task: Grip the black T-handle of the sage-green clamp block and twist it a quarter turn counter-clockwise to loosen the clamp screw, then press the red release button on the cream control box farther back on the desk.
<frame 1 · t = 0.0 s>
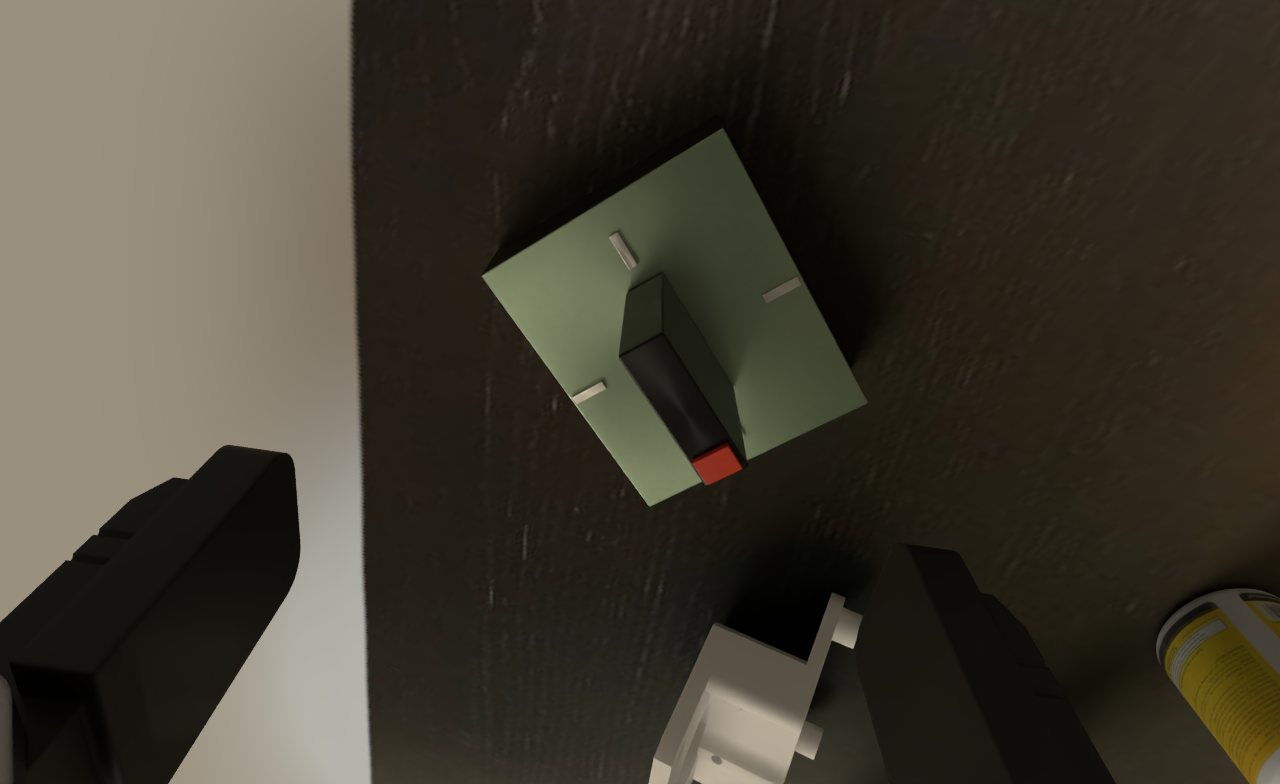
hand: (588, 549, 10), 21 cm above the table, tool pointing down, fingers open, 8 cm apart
pill bottle: (1214, 626, 38), on the table
clamp block: (679, 312, 31), on the table
clamp screw: (683, 376, 26), point 6 cm above the table, hinge at 0.0°
mounting bracket: (742, 656, 40), on the table
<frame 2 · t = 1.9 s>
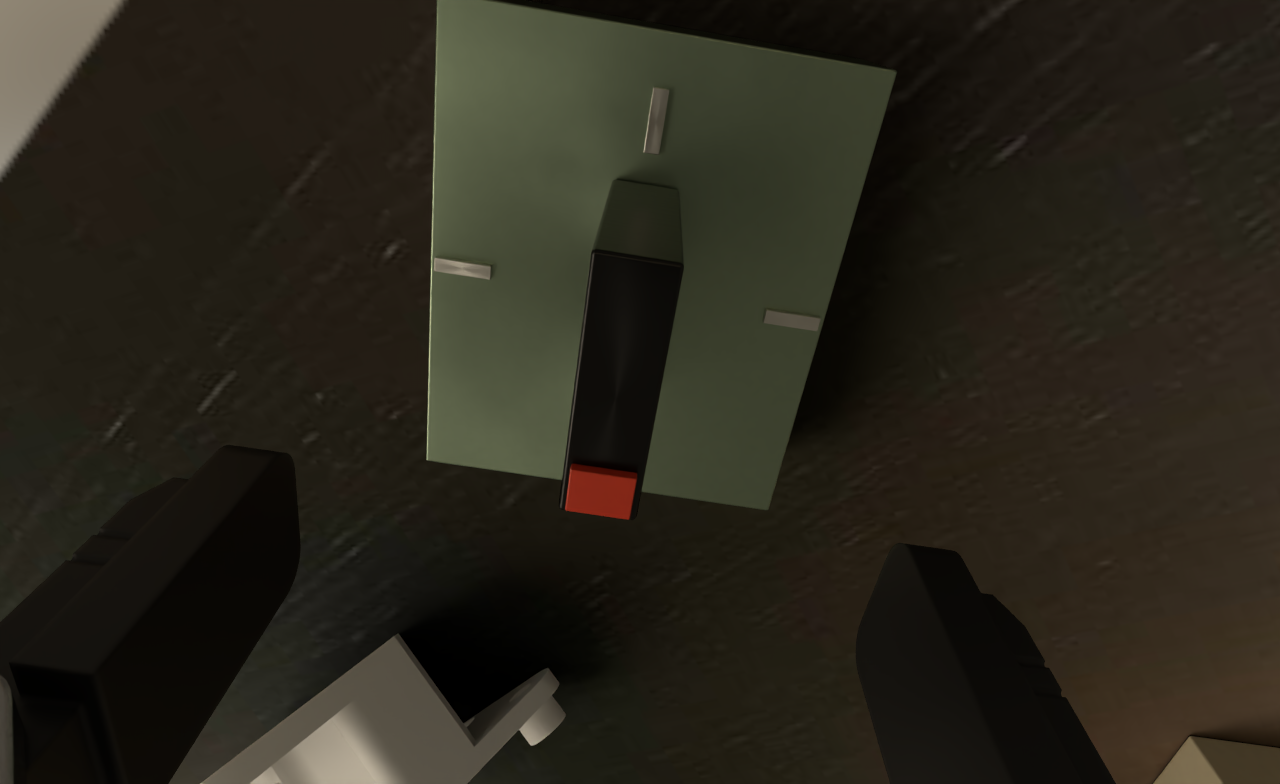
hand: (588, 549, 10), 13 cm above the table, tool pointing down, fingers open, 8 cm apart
clamp block: (633, 256, 21), on the table
clamp screw: (623, 340, 16), point 6 cm above the table, hinge at 0.0°
mounting bracket: (392, 676, 30), on the table
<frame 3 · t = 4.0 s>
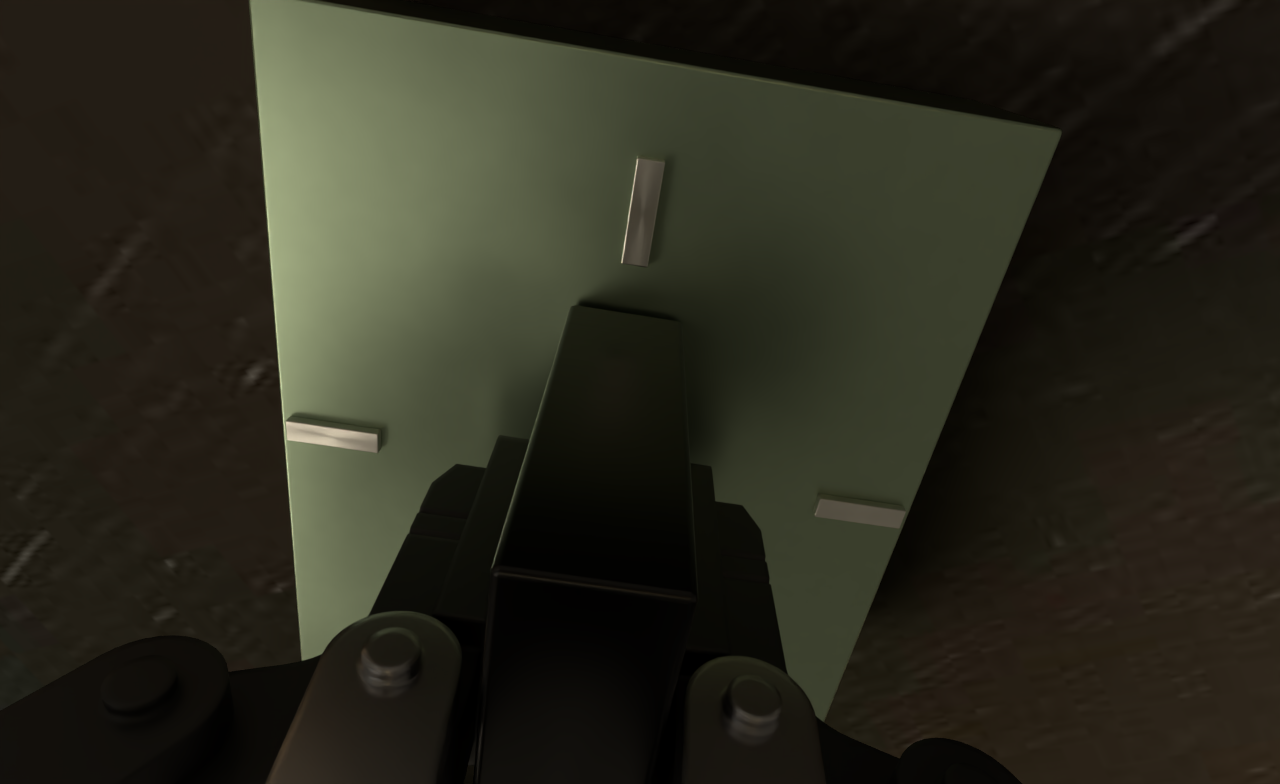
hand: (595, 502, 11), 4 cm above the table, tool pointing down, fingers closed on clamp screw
clamp block: (612, 383, 14), on the table
clamp screw: (584, 603, 9), point 6 cm above the table, hinge at 0.0°, touching gripper
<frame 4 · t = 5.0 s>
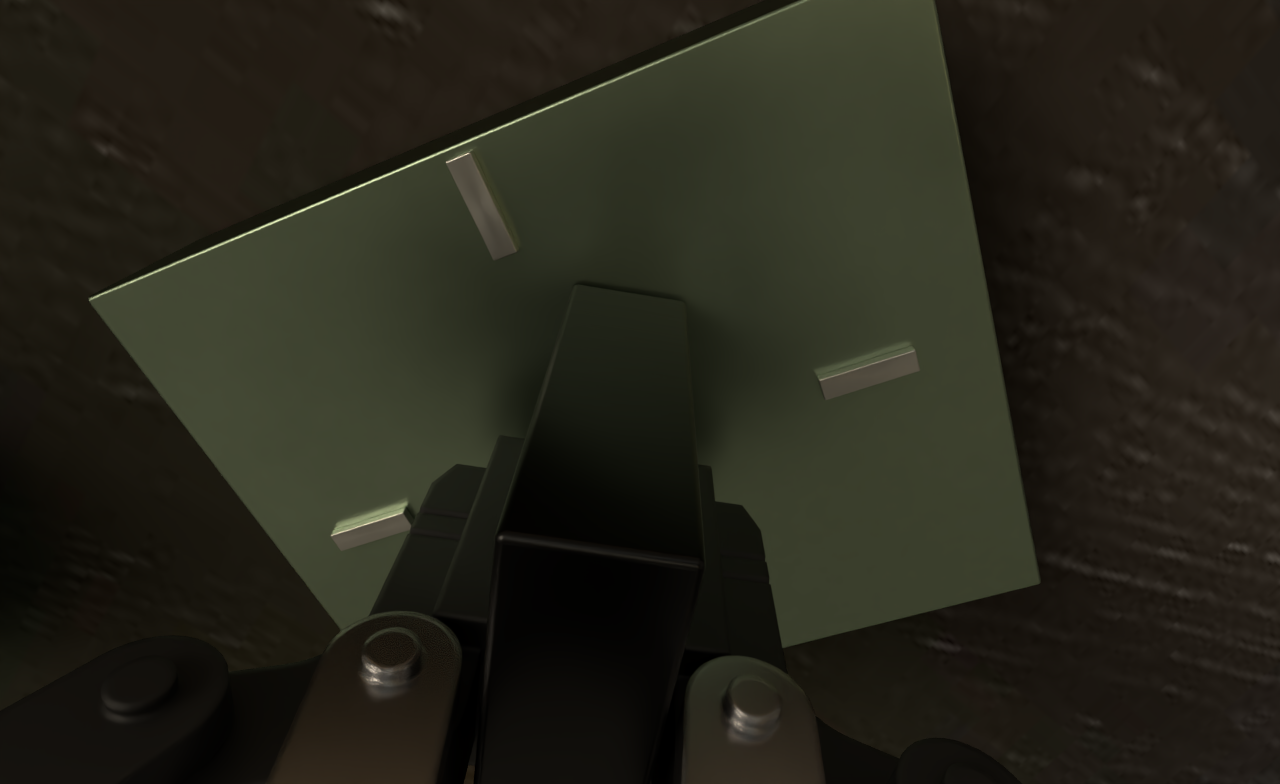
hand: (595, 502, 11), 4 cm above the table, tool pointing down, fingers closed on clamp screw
clamp block: (614, 369, 14), on the table
clamp screw: (587, 583, 9), point 6 cm above the table, hinge at 59.9°, touching gripper
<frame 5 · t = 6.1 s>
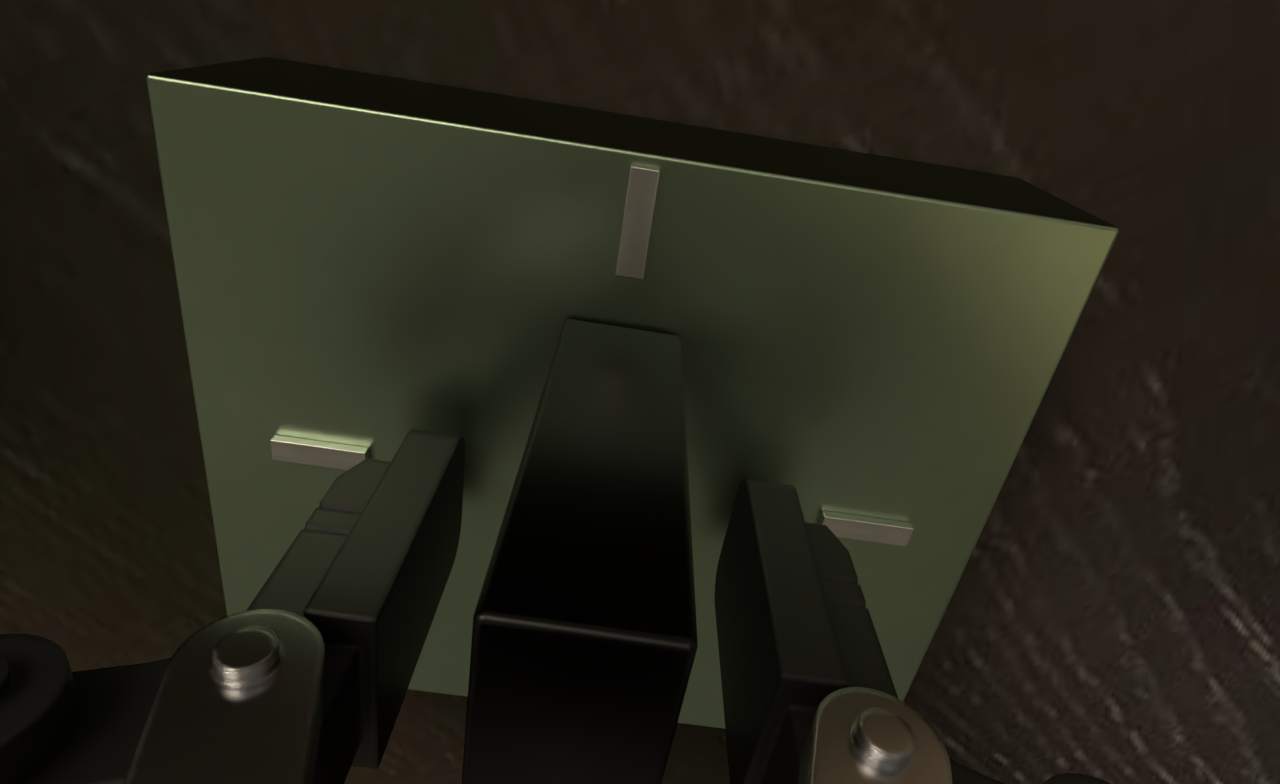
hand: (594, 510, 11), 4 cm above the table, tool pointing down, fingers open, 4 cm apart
clamp block: (609, 396, 14), on the table
clamp screw: (578, 633, 9), point 6 cm above the table, hinge at 89.6°
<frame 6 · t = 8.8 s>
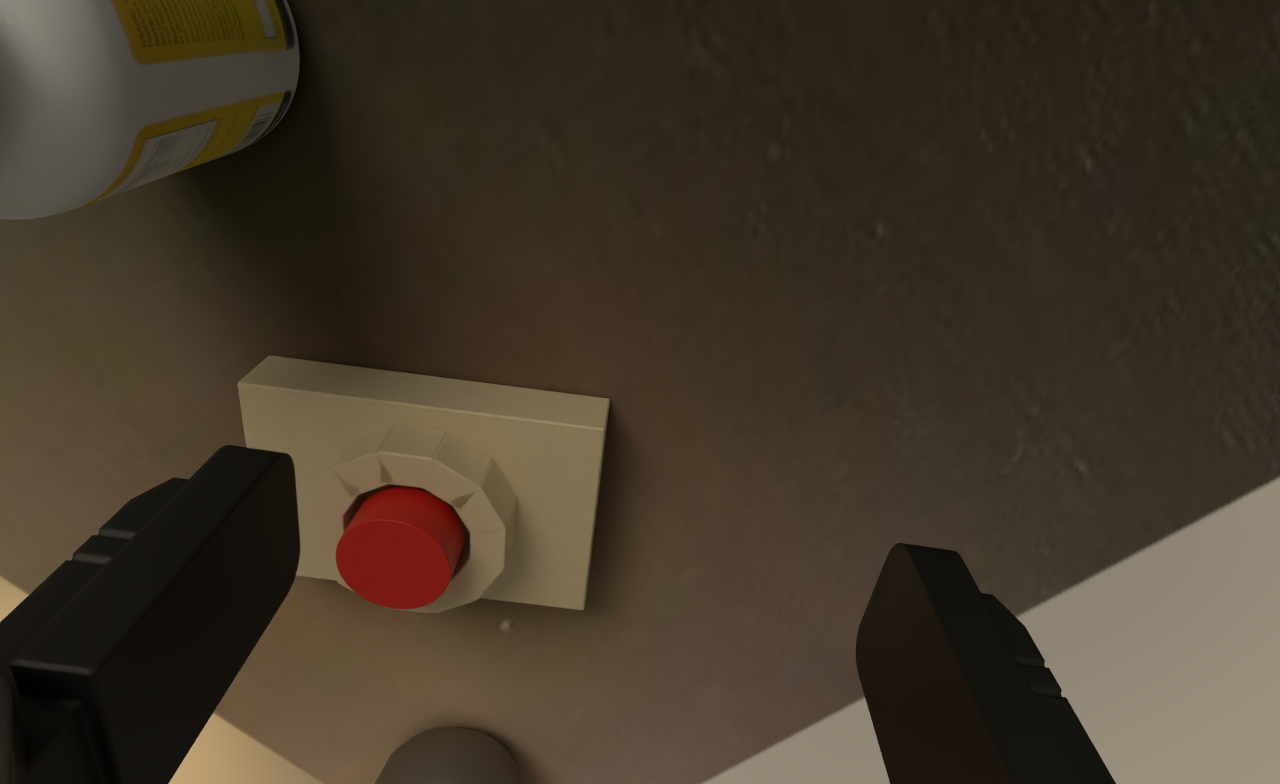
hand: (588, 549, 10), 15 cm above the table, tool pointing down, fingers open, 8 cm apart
pill bottle: (200, 34, 21), on the table
release button: (401, 548, 24), point 4 cm above the table, slide at 0.1 cm
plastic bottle: (462, 750, 35), on the table
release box: (440, 470, 28), on the table
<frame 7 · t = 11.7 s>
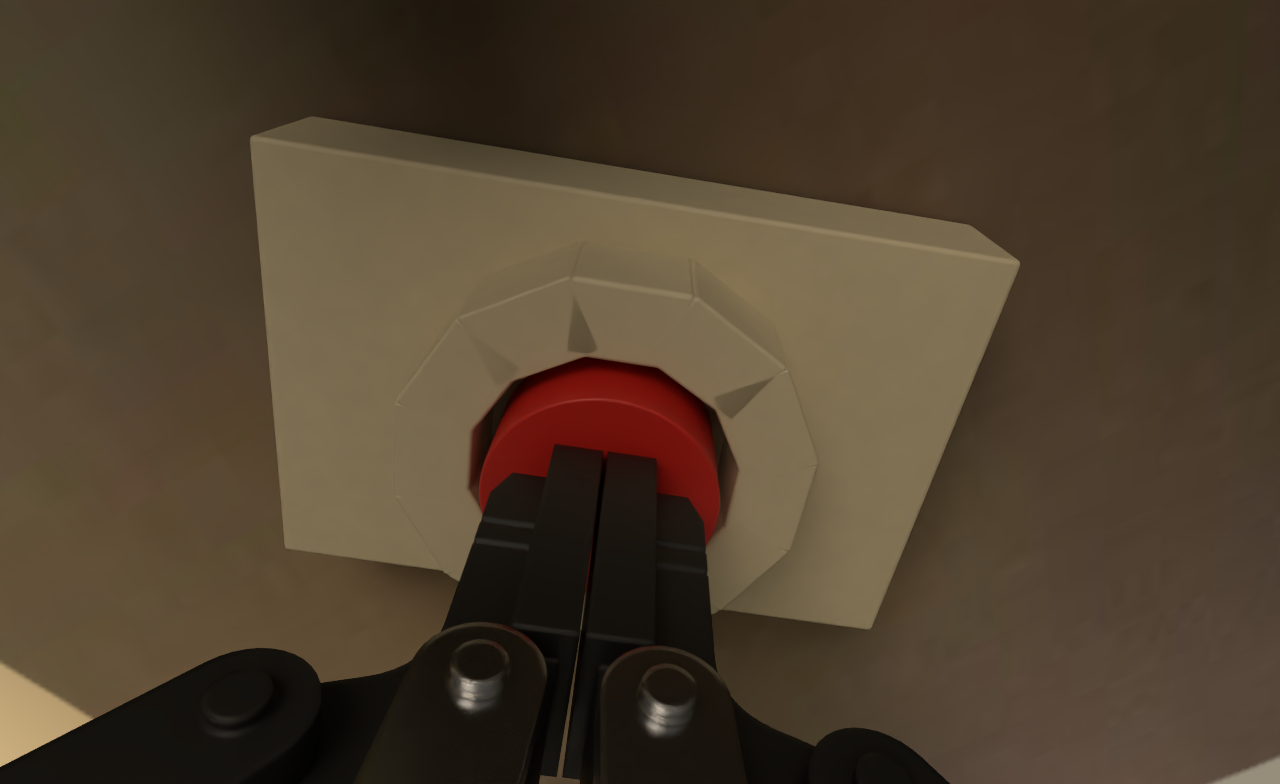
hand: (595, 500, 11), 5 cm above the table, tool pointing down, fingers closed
release button: (603, 472, 12), point 4 cm above the table, slide at -0.6 cm, touching gripper
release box: (616, 369, 15), on the table
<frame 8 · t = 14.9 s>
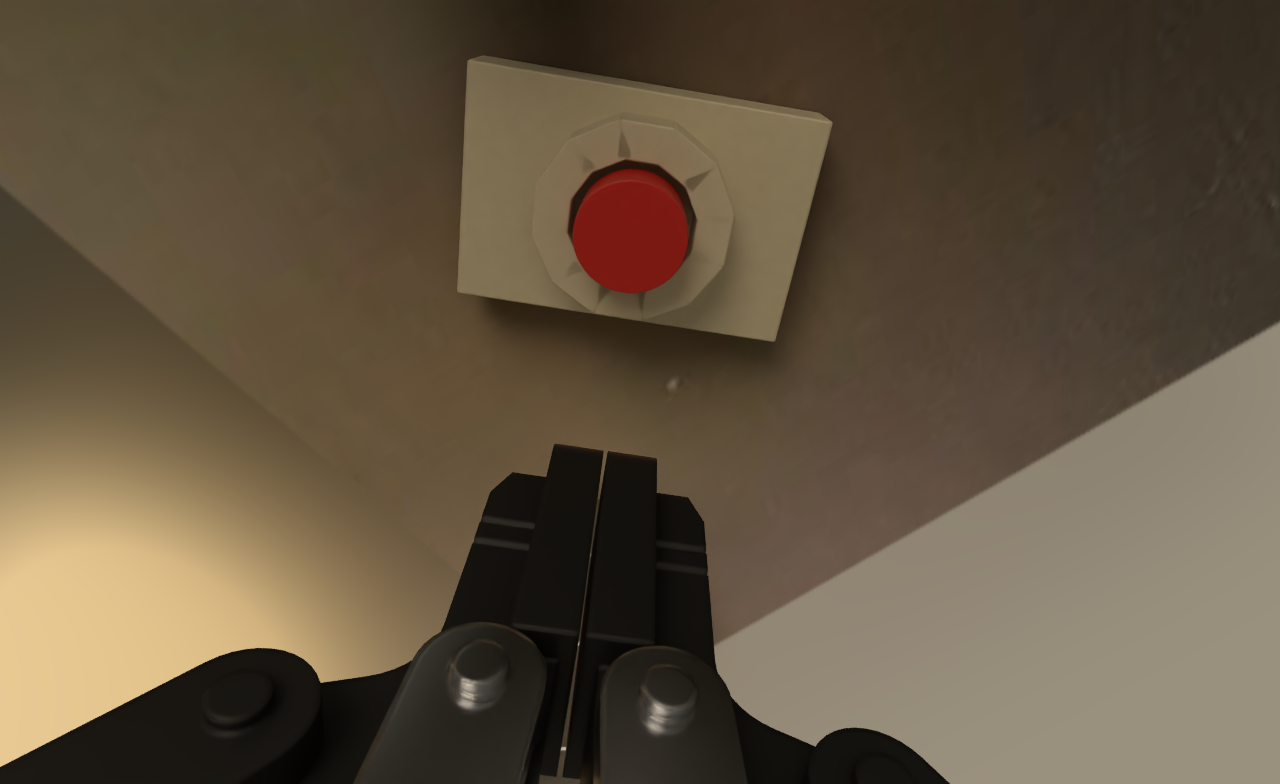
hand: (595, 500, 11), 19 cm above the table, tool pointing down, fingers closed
release button: (631, 231, 24), point 4 cm above the table, slide at 0.1 cm
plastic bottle: (605, 534, 35), on the table
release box: (635, 198, 28), on the table
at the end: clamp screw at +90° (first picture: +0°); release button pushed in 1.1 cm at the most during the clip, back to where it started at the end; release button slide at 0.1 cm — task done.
